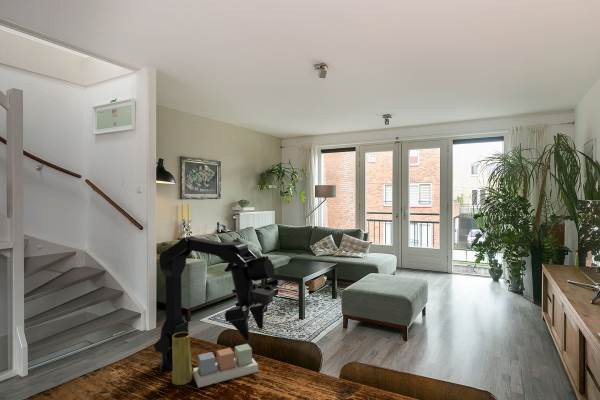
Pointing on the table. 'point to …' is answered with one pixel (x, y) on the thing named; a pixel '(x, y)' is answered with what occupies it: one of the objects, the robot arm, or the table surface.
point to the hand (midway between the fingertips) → (254, 334)
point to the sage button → (243, 355)
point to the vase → (181, 358)
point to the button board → (224, 374)
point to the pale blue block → (206, 364)
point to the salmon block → (225, 359)
